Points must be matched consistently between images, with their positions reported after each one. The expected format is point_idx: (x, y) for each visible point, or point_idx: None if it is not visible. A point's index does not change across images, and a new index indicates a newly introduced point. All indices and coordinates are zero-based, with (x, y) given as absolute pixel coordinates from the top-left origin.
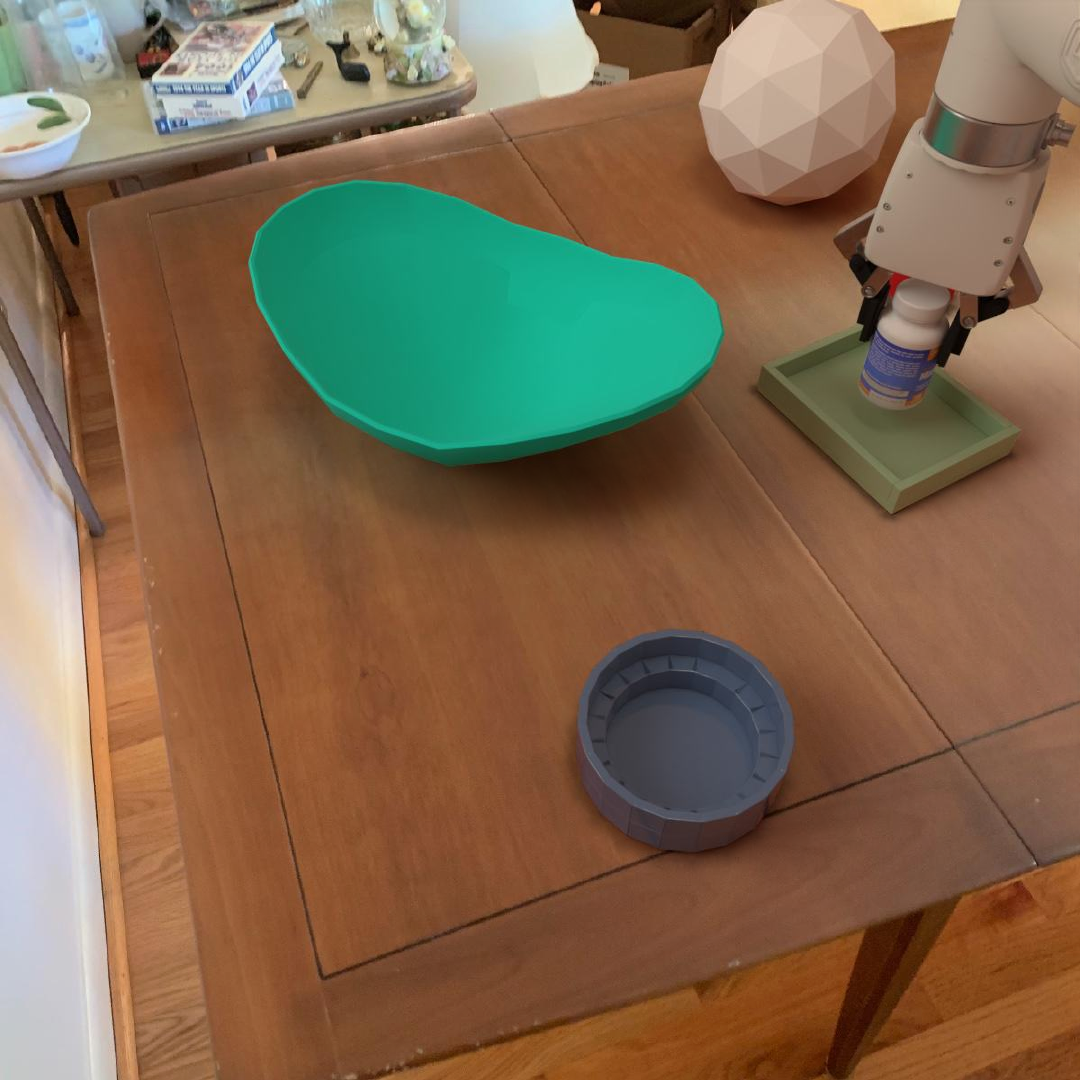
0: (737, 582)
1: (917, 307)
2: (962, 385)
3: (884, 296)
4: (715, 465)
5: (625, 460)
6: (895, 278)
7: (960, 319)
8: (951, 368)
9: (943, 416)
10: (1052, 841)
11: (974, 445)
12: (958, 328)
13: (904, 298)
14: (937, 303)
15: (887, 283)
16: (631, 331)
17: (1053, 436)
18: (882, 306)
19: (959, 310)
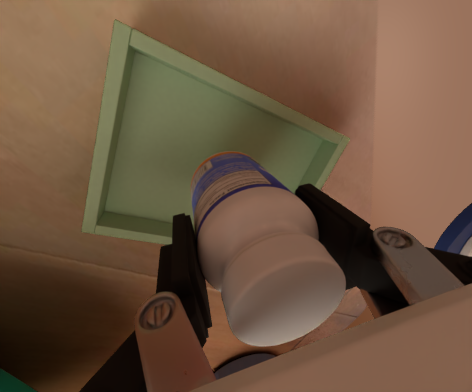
0: (217, 327)
1: (292, 338)
2: (287, 109)
3: (207, 313)
4: (143, 291)
5: (88, 328)
6: None
7: (363, 296)
8: (247, 22)
9: (271, 135)
10: (362, 310)
11: (315, 186)
12: (353, 286)
13: (262, 343)
14: (324, 311)
15: (197, 312)
16: None
17: (361, 78)
18: (199, 268)
19: (349, 246)
